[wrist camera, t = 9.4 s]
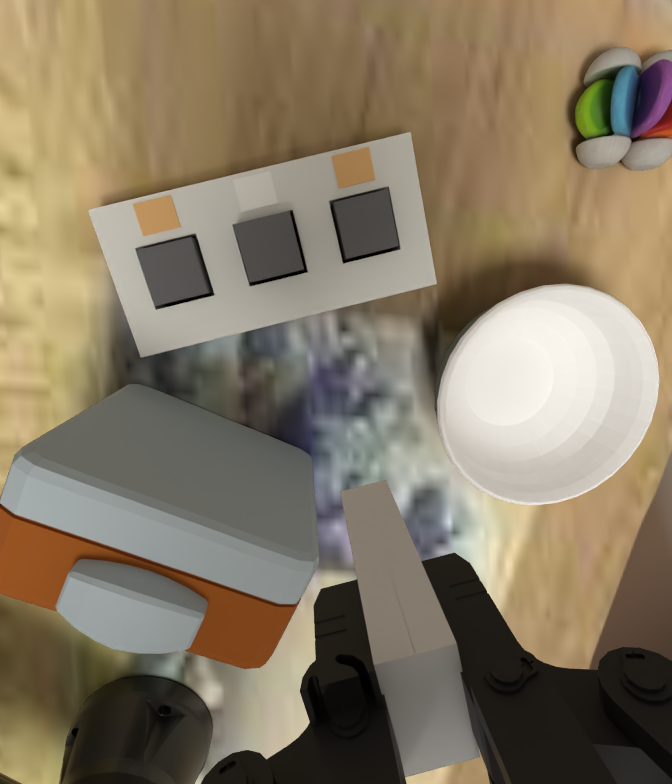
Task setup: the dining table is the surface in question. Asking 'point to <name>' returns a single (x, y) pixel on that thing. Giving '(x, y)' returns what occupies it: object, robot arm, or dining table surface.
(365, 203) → the button
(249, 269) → the button middle
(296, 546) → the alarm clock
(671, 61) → the rainbow disc toy
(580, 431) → the bowl
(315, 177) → the board
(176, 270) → the button
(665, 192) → the dining table surface
